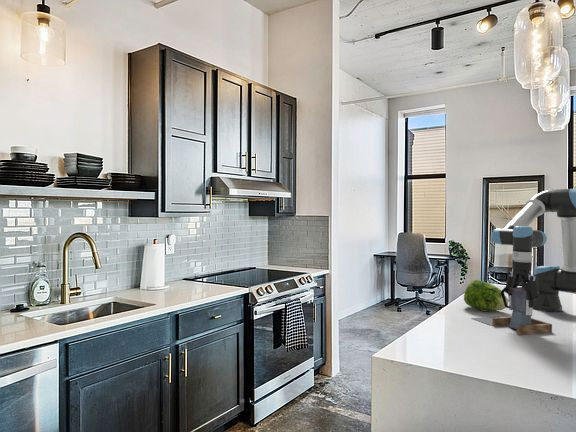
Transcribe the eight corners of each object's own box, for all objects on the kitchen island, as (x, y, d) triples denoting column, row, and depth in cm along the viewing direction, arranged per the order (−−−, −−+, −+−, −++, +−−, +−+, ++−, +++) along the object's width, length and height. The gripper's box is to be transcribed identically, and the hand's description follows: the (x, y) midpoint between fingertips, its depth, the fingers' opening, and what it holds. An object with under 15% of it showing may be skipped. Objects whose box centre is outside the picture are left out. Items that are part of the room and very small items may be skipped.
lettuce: (498, 321, 212) (510, 293, 210) (457, 302, 223) (468, 275, 222) (502, 319, 225) (514, 293, 224) (463, 301, 237) (474, 276, 235)
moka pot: (543, 332, 182) (543, 285, 183) (504, 330, 185) (504, 284, 186) (535, 327, 192) (535, 282, 192) (498, 325, 195) (498, 281, 195)
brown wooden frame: (523, 323, 199) (523, 315, 199) (551, 332, 184) (552, 324, 184) (492, 325, 193) (492, 317, 193) (519, 335, 179) (519, 326, 179)
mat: (498, 316, 210) (498, 316, 210) (518, 323, 198) (518, 322, 198) (470, 318, 205) (470, 318, 205) (490, 325, 193) (490, 325, 193)
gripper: (496, 258, 197) (495, 307, 197) (535, 264, 177) (534, 318, 177) (509, 258, 199) (508, 306, 200) (549, 264, 179) (548, 317, 179)
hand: (520, 312), depth 188 cm, fingers closed on moka pot, 8 cm apart
